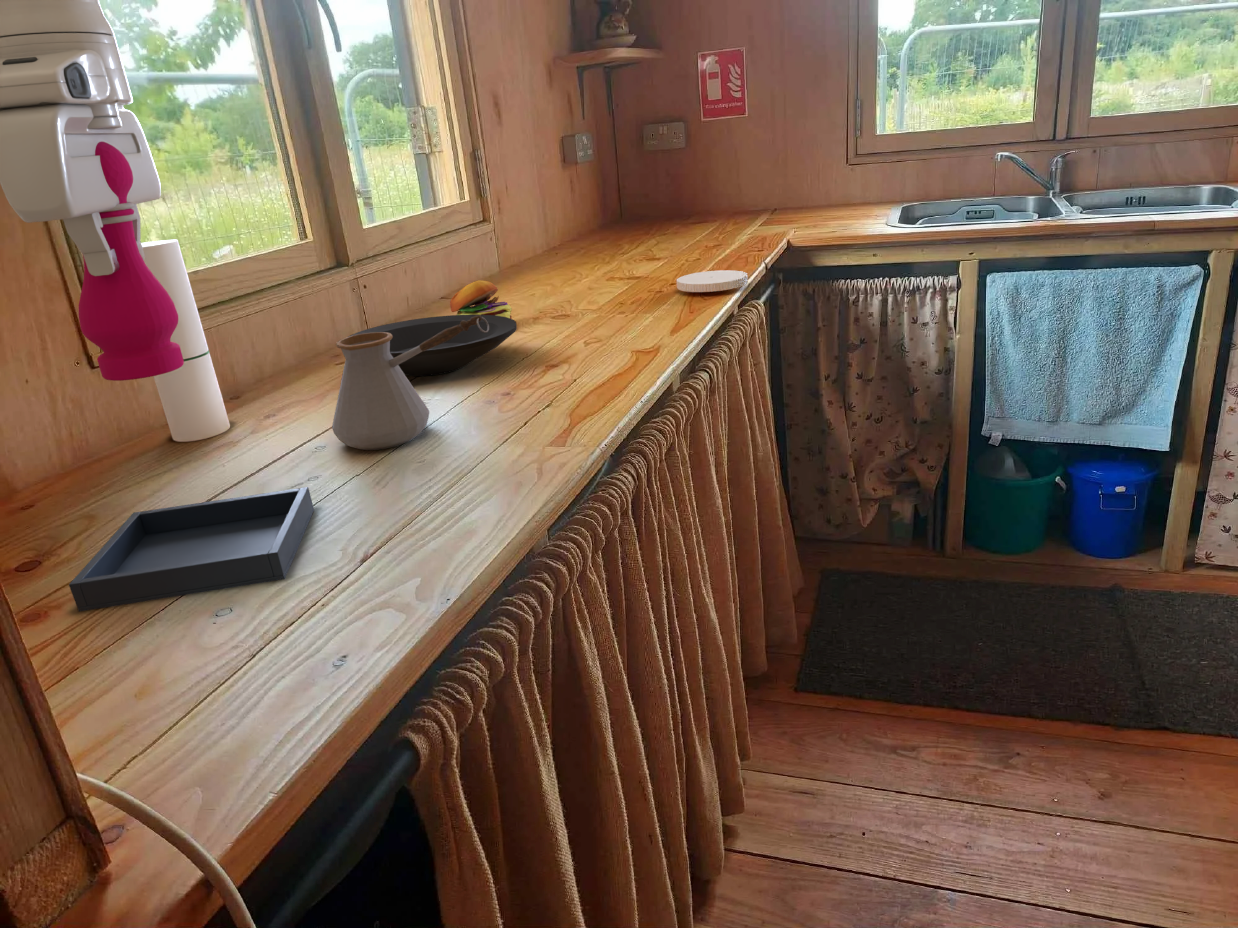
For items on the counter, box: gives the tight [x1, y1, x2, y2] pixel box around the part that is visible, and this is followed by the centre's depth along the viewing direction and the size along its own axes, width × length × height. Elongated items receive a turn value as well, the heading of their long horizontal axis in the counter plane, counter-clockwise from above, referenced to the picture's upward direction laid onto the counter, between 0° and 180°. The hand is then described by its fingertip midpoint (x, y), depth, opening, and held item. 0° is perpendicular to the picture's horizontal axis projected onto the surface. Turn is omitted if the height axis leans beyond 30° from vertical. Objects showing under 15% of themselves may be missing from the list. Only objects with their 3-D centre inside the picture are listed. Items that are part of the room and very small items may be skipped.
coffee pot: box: [331, 315, 489, 451], centre depth 102 cm, size 21×12×15 cm, turn 76°
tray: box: [68, 486, 315, 612], centre depth 79 cm, size 17×15×3 cm
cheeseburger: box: [449, 279, 513, 319], centre depth 159 cm, size 10×11×10 cm
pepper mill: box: [78, 142, 184, 382], centre depth 70 cm, size 7×7×20 cm
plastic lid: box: [675, 269, 748, 293], centre depth 173 cm, size 14×14×2 cm
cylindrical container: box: [141, 239, 231, 443], centre depth 112 cm, size 7×7×25 cm
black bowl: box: [345, 314, 518, 377], centre depth 137 cm, size 28×24×6 cm
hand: (119, 269), depth 71 cm, fingers closed on pepper mill, 4 cm apart
